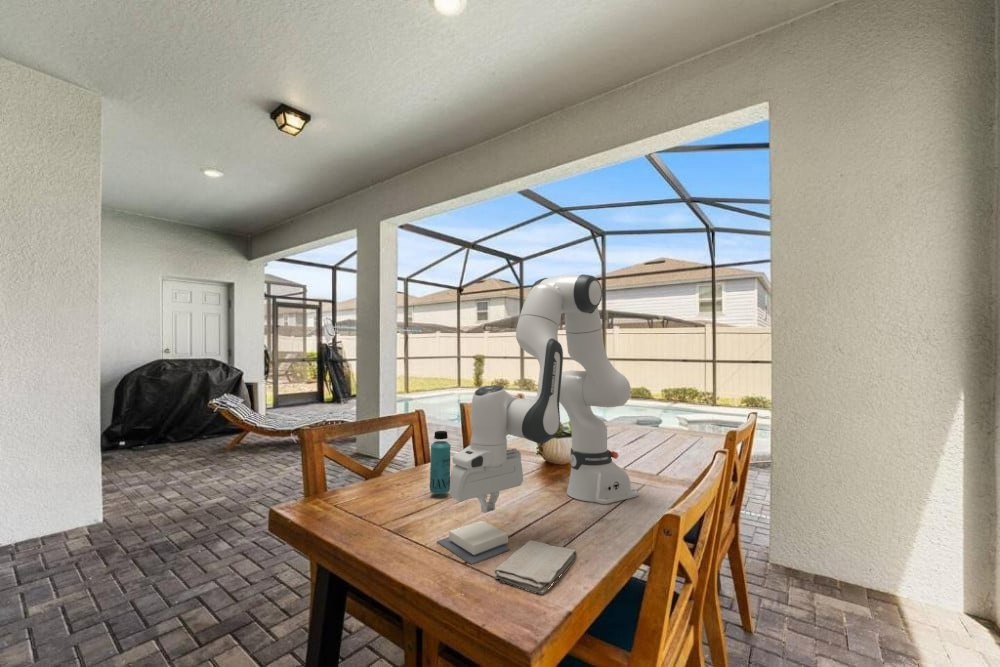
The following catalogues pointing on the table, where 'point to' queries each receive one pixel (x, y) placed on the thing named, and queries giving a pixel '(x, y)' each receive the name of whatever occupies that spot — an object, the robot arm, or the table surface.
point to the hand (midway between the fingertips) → (488, 511)
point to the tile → (478, 537)
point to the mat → (470, 557)
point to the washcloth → (535, 566)
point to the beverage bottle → (440, 464)
